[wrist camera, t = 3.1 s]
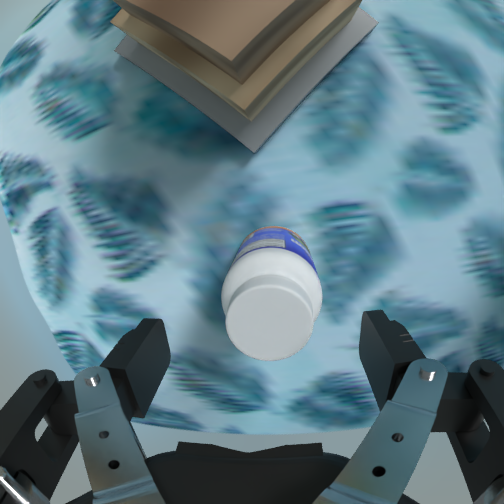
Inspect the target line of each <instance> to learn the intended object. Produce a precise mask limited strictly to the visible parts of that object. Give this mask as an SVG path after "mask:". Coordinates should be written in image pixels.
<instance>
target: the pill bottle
mask: <svg viewBox="0 0 504 504" xmlns="http://www.w3.org/2000/svg"><path fill="white" fill-rule="evenodd" d="M221 300H222V307H223V310H224V313H225V316H226V319H225V324H226V330H227V333H228V336H229V338H230V340H231V341H232V343H233V344H234V345H235V347H236V348H237V349H239V350H240V351H241V352H243V353H244V354H246V355H247V356H249V357H252V358H255V359H258V360H264V361H276V360H281V359H285V358H288V357H290V356H292V355H294V354H295V353H297V352H298V351H300V350H301V349H302V348H303V347H304V346H305V345H306V343H307V342H308V340H309V338H310V336H311V334H312V330H313V323H314V322H315V320H316V319H317V317H318V315H319V312H320V309H321V305H322V289H321V284H320V281H319V278H318V275H317V272H316V268H315V266H314V263H313V260H312V257H311V254H310V251H309V249H308V247H307V245H306V243H305V242H304V240H303V239H302V238H301V237H300V236H299V235H298V234H296V233H295V232H293V231H292V230H290V229H287V228H284V227H279V226H268V227H263V228H260V229H258V230H256V231H254V232H252V233H251V234H250V235H248V236H247V237H246V238H245V240H244V241H243V242H242V244H241V246H240V248H239V250H238V252H237V255H236V257H235V259H234V261H233V263H232V265H231V267H230V269H229V271H228V273H227V276H226V278H225V281H224V283H223V287H222V293H221Z"/></svg>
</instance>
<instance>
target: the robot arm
mask: <svg viewBox="0 0 504 504" xmlns="http://www.w3.org/2000/svg"><path fill="white" fill-rule="evenodd" d="M359 355H360V359H361V362H362V365H363V367H364V370H365V372H366V375H367V377H368V380H369V383H370V385H371V388H372V391H373V393H374V396H375V399H376V401H377V404H378V407H379V409H380V414H379V416H378V417H377V419H376V421H375V422H374V424H373V426H372V427H371V429H370V430H369V432H368V434H367V435H366V437H365V438H364V440H363V441H362V443H361V444H360V446H359V447H358V449H357V450H356V452H355V453H354V455H353V456H352V458H351V459H349V458H346V457H344V456H340V455H337V454H331V453H325V452H323V449H322V443H312V444H297V445H284V446H280V447H275V448H271V449H266V450H261V451H256V452H250V453H246V452H241V451H236V450H232V449H228V448H224V447H220V446H216V445H213V444H200V443H189V442H178V446H177V449H176V451H171V452H165V453H161V454H157V455H155V456H152V457H149V458H147V457H146V455H145V453H144V451H143V449H142V446H141V444H140V442H139V440H138V438H137V436H136V433H135V431H134V429H133V426H132V424H131V422H130V421H131V419H132V417H139V418H144V417H145V415H146V413H147V411H148V409H149V406H150V404H151V402H152V400H153V398H154V396H155V394H156V392H157V389H158V387H159V385H160V383H161V381H162V379H163V377H164V375H165V373H166V371H167V368H168V366H169V364H170V358H171V355H170V348H169V344H168V340H167V335H166V331H165V327H164V323H163V321H162V319H149V318H144V319H143V320H142V321H141V322H140V323H139V325H138V326H137V327H136V329H132V330H131V331H129V332H128V333H126V334H125V335H123V337H122V338H121V339H120V340H119V342H118V344H116V345H115V347H114V348H113V350H112V351H111V352H110V353H109V354H108V356H107V357H106V358H105V360H104V361H103V362H102V363H101V365H100V366H94V367H89V368H86V369H84V370H82V371H80V372H79V373H78V374H77V375H76V377H75V378H74V381H58V378H57V376H56V374H55V373H54V372H53V371H51V370H40V371H37V372H35V373H33V374H31V375H30V376H29V377H28V378H27V379H26V380H25V381H24V383H23V384H22V385H21V386H20V387H19V389H18V390H17V391H16V392H15V393H14V395H13V396H12V397H11V398H10V399H9V400H8V402H7V403H6V404H5V405H4V407H3V408H2V409H1V410H0V504H50V502H49V501H50V499H51V497H52V495H53V492H54V490H55V488H56V486H57V484H58V482H59V480H60V478H61V476H62V474H63V472H64V470H65V468H66V466H67V464H68V462H69V460H70V458H71V456H72V454H73V452H74V450H75V448H76V446H77V444H78V442H80V446H81V451H82V455H83V459H84V462H85V466H86V470H87V473H88V478H89V481H90V484H91V488H92V490H91V491H89V492H87V493H86V494H84V495H82V496H80V497H78V498H76V499H74V500H72V501H70V502H68V503H66V504H419V503H417V502H416V501H414V500H413V499H411V498H410V497H408V496H406V495H404V494H403V492H404V490H405V488H406V486H407V484H408V482H409V480H410V478H411V476H412V473H413V471H414V469H415V467H416V465H417V463H418V460H419V458H420V456H421V453H422V451H423V449H424V446H425V444H426V441H427V439H428V436H429V434H430V432H446V433H447V435H448V437H449V440H450V442H451V444H452V447H453V449H454V452H455V455H456V457H457V460H458V462H459V465H460V467H461V470H462V473H463V475H464V478H465V481H466V483H467V486H468V489H469V492H470V495H471V498H472V501H473V504H504V370H503V369H502V367H501V366H500V365H499V364H497V363H496V362H493V361H491V360H486V359H481V360H476V361H474V362H473V363H472V364H471V365H470V367H469V370H468V373H450V372H448V371H447V368H446V367H445V366H444V365H443V364H442V363H441V362H439V361H437V360H433V359H427V358H426V357H425V355H424V354H423V352H422V351H421V350H420V348H419V347H418V345H417V344H416V342H415V341H413V338H412V337H411V335H409V332H408V331H407V330H406V328H405V327H404V326H403V325H401V324H400V323H398V322H397V321H395V320H393V321H390V320H389V319H388V317H387V316H386V314H385V313H384V311H383V310H373V311H364V312H363V315H362V323H361V333H360V342H359ZM43 417H44V419H45V421H46V422H47V424H48V427H47V428H46V430H45V431H44V433H43V434H42V436H41V437H40V439H39V441H38V442H37V441H36V439H35V429H36V427H37V425H38V424H39V422H40V421H41V419H42V418H43ZM484 419H485V420H486V422H487V424H488V426H489V429H490V432H489V430H488V428H487V426H486V425H485V423H484V421H483V420H484Z"/></svg>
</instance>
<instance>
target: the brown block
mask: <svg viewBox="0 0 504 504" xmlns="http://www.w3.org/2000/svg"><path fill="white" fill-rule="evenodd" d="M113 1H114V2H116V3H117V4H118V5H119V6H120V7H121V8H122V9H121V10H120V11H119V12H118V14H117V15H116V16H115V17H114V18H113V19H112V21H111V23H112V24H114V25H115V26H116V27H118V28H119V29H120V30H122V31H123V32H125V33H126V34H127V35H128V36H130V37H131V38H132V39H134V40H135V41H136V42H138V43H139V44H141V45H142V46H144V47H146V48H147V49H149V50H151V51H152V52H154V53H155V54H157V55H158V56H160V57H162V58H163V59H165V60H166V61H168V62H169V63H171V64H172V65H174V66H175V67H177V68H178V69H180V70H181V71H183V72H184V73H186V74H187V75H189V76H190V77H191V78H193V79H194V80H196V81H197V82H199V83H200V84H201V85H203V86H204V87H206V88H207V89H208V90H210V91H211V92H213V93H214V94H215V95H217V96H218V97H219V98H221V99H222V100H224V101H225V102H226V103H228V104H229V105H230V106H232V107H233V108H234V109H235V110H237V111H238V112H239V113H241V114H242V115H243V116H245V117H246V118H247V119H248V120H250V121H251V122H252V120H253V119H254V118H255V117H256V116H257V115H258V114H259V113H260V112H261V110H262V109H263V108H264V107H265V106H266V105H267V104H268V103H269V102H270V101H271V99H272V98H273V97H274V96H275V95H276V94H277V93H278V92H279V91H280V90H281V89H282V88H283V87H284V85H285V84H286V83H287V82H288V81H289V80H290V79H291V78H292V77H293V76H294V75H295V74H296V73H297V72H298V71H299V70H300V69H301V68H302V67H303V66H304V65H305V64H306V63H307V62H308V61H309V60H310V59H311V58H312V57H313V56H314V55H315V54H316V53H317V52H318V51H319V50H320V49H321V48H322V47H323V46H324V45H325V44H326V43H327V42H328V41H329V40H330V39H331V38H332V37H333V36H334V35H336V34H337V33H338V32H339V31H340V30H341V29H342V28H343V27H344V26H345V25H346V24H347V23H349V22H350V21H351V20H352V18H353V16H354V14H355V12H356V11H357V9H358V7H359V5H360V3H361V1H362V0H113Z"/></svg>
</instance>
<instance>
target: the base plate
mask: <svg viewBox="0 0 504 504" xmlns="http://www.w3.org/2000/svg"><path fill="white" fill-rule="evenodd" d="M378 23H379V22H377V21H376V20H375V19H374V18H372V17H371V16H370V15H369V14H367V13H366V12H365V11H363V10H362V9H361V8H359V7H358V9H357V11H356V12H355V14H354V16H353V18H352V20H351V21H350V22H349V23H347V24H346V25H345V26H344V27H343V28H342V29H341V30H340V31H339V32H338V33H337V34H336V35H334V36H333V37H332V38H331V39H330V40H329V41H328V42H327V43H326V44H325V45H324V46H323V47H322V48H321V49H320V50H319V51H318V52H317V53H316V54H315V55H314V56H313V57H312V58H311V59H310V60H309V61H308V62H307V63H306V64H305V65H304V66H303V67H302V68H301V69H300V70H299V71H298V72H297V73H296V74H295V75H294V76H293V77H292V78H291V79H290V80H289V81H288V82H287V83H286V84H285V85H284V87H283V88H282V89H281V90H280V91H279V92H278V93H277V94H276V95H275V96H274V97H273V98H272V99H271V101H270V102H269V103H268V104H267V105H266V106H265V107H264V108H263V109H262V110H261V112H260V113H259V114H258V115H257V116H256V117H255V118H254V119H253V120H252V122H251V121H250V120H248V119H247V118H246V117H245V116H243V115H242V114H241V113H239V112H238V111H237V110H235V109H234V108H233V107H232V106H230V105H229V104H228V103H226V102H225V101H224V100H222V99H221V98H219V97H218V96H217V95H215V94H214V93H213V92H211V91H210V90H208V89H207V88H206V87H204V86H203V85H201V84H200V83H199V82H197V81H196V80H194V79H193V78H191V77H190V76H189V75H187V74H186V73H184V72H183V71H181V70H180V69H178V68H177V67H175V66H174V65H172V64H171V63H169V62H168V61H166V60H165V59H163V58H162V57H160V56H158V55H157V54H155V53H154V52H152V51H151V50H149V49H147V48H146V47H144V46H142V45H141V44H139V43H138V42H136V41H135V40H134V39H132V38H131V37H130V36H128V35H126V36H125V38H124V39H123V40H122V41H121V42H120V44H119V45H118V46H117V47H116V49H115V50H114V51H115V52H117V53H118V54H120V55H121V56H123V57H125V58H126V59H128V60H129V61H131V62H132V63H134V64H135V65H137V66H138V67H140V68H141V69H143V70H144V71H146V72H147V73H149V74H150V75H151V76H153V77H154V78H156V79H157V80H159V81H160V82H162V83H163V84H164V85H166V86H167V87H169V88H170V89H171V90H173V91H174V92H176V93H177V94H178V95H180V96H181V97H183V98H184V99H185V100H187V101H188V102H189V103H191V104H192V105H193V106H195V107H196V108H197V109H199V110H200V111H201V112H203V113H204V114H205V115H207V116H208V117H209V118H211V119H212V120H213V121H215V122H216V123H217V124H218V125H220V126H221V127H222V128H224V129H225V130H226V131H227V132H229V133H230V134H231V135H232V136H234V137H235V138H236V139H237V140H239V141H240V142H241V143H242V144H244V145H245V146H246V147H247V148H249V149H250V150H251V151H252V152H254V153H256V152H257V151H258V150H259V149H260V148H261V146H262V145H263V144H264V143H265V142H266V141H267V140H268V138H269V137H270V136H271V135H272V134H273V133H274V132H275V131H276V129H277V128H278V127H279V126H280V125H281V124H282V123H283V122H284V121H285V119H286V118H287V117H288V116H289V115H290V114H291V113H292V112H293V111H294V110H295V108H296V107H297V106H298V105H299V104H300V103H301V102H302V101H303V100H304V99H305V98H306V97H307V96H308V95H309V93H310V92H311V91H312V90H313V89H314V88H315V87H316V86H317V85H318V84H319V83H320V82H321V81H322V80H323V79H324V78H325V77H326V76H327V75H328V74H329V73H330V72H331V71H332V69H333V68H334V67H335V66H336V65H337V64H338V63H339V62H340V61H341V60H342V59H343V58H344V57H345V56H346V55H347V54H348V53H349V52H350V51H351V50H352V49H353V48H354V47H355V46H356V45H358V44H359V43H360V42H361V41H362V40H363V39H364V38H365V37H366V36H367V35H368V34H369V33H370V32H371V31H372V30H373V29H374V28H375V27H376V25H377V24H378Z"/></svg>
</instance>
